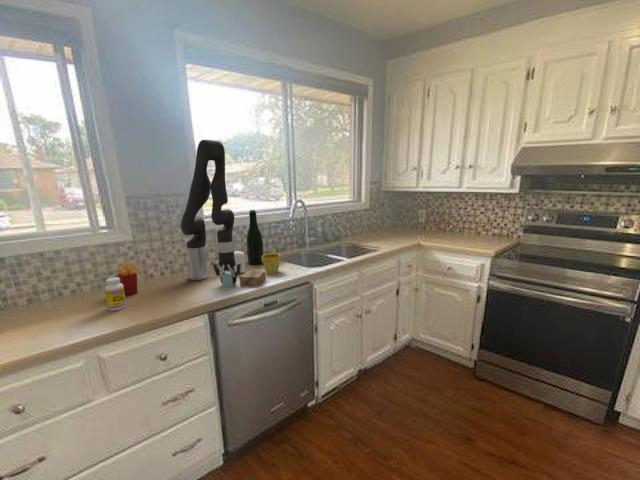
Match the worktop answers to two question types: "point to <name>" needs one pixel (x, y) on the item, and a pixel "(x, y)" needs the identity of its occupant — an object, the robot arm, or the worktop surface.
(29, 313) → the worktop surface
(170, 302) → the worktop surface
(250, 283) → the walnut block
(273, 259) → the plant pot
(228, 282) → the teal block
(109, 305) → the supplement bottle
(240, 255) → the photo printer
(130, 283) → the french fries
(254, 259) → the beer bottle
